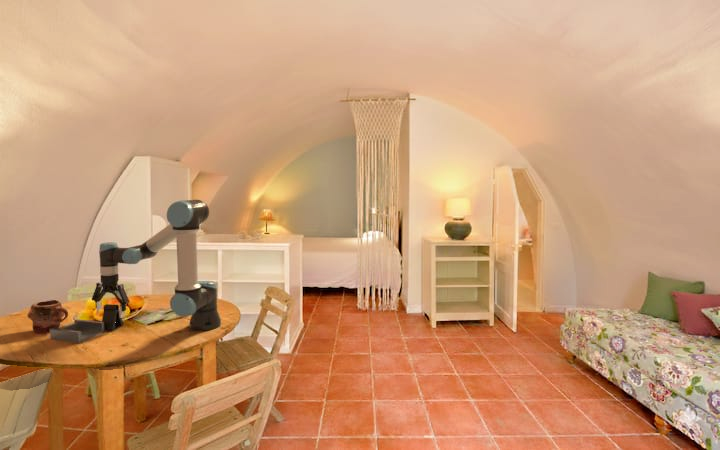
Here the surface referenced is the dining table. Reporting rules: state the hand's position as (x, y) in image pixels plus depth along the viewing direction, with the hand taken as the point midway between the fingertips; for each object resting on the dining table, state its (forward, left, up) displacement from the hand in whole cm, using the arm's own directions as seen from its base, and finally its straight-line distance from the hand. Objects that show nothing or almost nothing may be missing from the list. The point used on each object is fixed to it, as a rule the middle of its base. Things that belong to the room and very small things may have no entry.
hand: (111, 315), depth 201 cm
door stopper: (0, 0, -7) cm, 7 cm away
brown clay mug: (+26, +10, -7) cm, 28 cm away
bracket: (+7, +12, -6) cm, 15 cm away
